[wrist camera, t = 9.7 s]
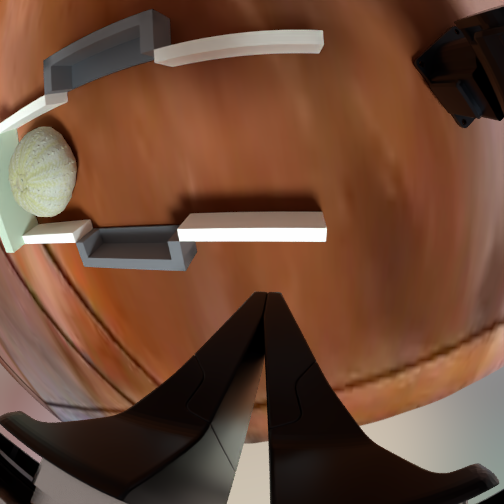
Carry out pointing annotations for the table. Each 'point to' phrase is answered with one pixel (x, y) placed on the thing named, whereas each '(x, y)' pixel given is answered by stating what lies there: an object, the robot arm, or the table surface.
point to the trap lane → (196, 224)
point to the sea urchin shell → (42, 172)
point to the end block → (11, 200)
